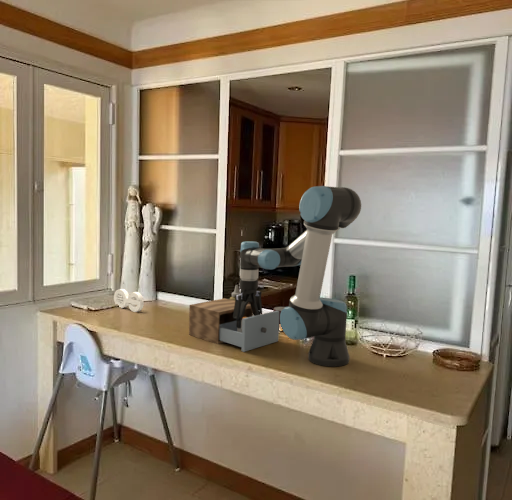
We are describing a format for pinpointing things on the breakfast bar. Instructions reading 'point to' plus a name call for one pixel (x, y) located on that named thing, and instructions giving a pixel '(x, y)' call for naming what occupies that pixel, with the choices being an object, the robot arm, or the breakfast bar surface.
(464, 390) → the breakfast bar surface
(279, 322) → the mug
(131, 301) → the contact lens case
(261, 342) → the grey drawer
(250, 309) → the wooden drawer cabinet
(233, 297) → the squeeze bottle
